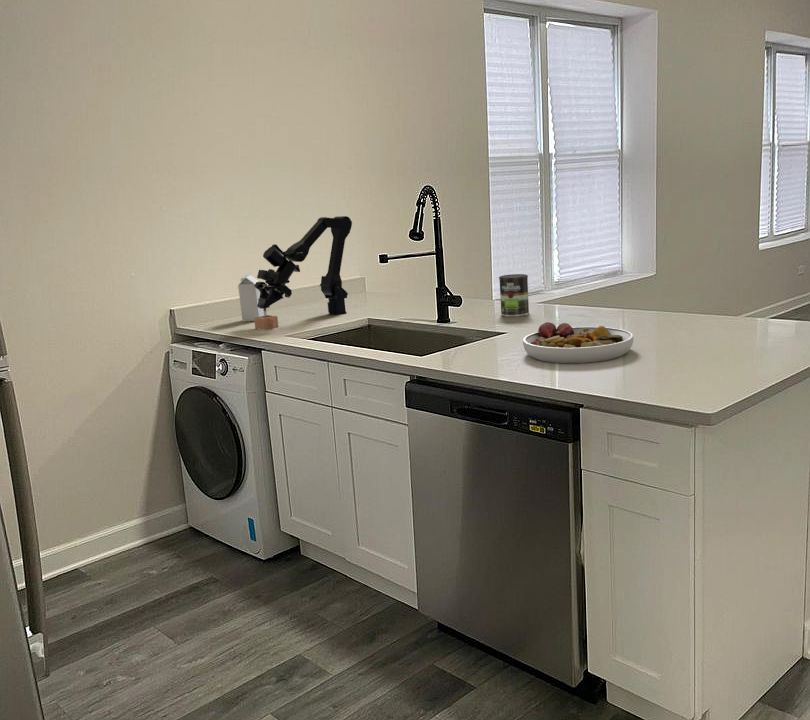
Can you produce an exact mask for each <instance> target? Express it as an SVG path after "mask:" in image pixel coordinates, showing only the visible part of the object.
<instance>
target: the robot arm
mask: <svg viewBox="0 0 810 720" xmlns="http://www.w3.org/2000/svg"><path fill="white" fill-rule="evenodd" d="M352 227H353V221H352V219H351V218H350V217H349V216H345V215H342V216H341V215H339V216H334V217H328V216H321V217H319V218H318V219H317V220H316V222H315V223H314V225H312V227H310V229H309V230H308V231H307V232H306V233H305V234H304V235H303V237H302V238H301V239H299V241H297V242H295V243H293V244H291V246H289V247H288V248H287V249H286V250H285V251H283V250H282V249H281V248H280V247H279V246H278V245H277V244H272V245H271V246H270V247H268V249H266V250H265V251H264V252H263V254H262V256H263V258H264V259H265V260H266V261H267V262H268V263H269V264H270V265H272V267H274V268H276V267H277V269H276V270H275V269H271V268H269V269H268V270H266V269H259V270H258V272H257V276H256V279H257V280H258V279H261V280H263V281H259V282H256V284H255V285H254V287H255V288H257V289H258V290H259V291H260V298H265V297H268V298H267V300H266V302H265V304H264V306H263V307H264V308H266V309H268V308H267V307H269V306H271V305H273V304H274V303H276V302H279V301H281V300H282V299H284V297H285V298H290V297H291V296H292V294H293V293H292V291H293V290H292V289H291V288H290V287H289V286H287V285H286V284H289V283H290V282H291V281H290V280H289V279H290V278H291V276H292V275H293V273H300V272H301V269H300V265H299V264H295V263H296V262H297V263H303V261H305V260H306V258H307V256H308V255H309V253H310V248H311V247H312V246H313V245H314V244H315V242H317V240H318V239H319V238H321V236H322V235H323V233H324V232H325V231H326V230H327V229H328V228H329V229H330V232H331V235H332V243H331V249H330V255H329V262H328V268H327V272H326V274H325V275H322V276H321V279H320V284H319V287H320V291H321V292H322V294H323V295H324V297H325V299H326V300H327V302H326V303H327V312H328V314H329V315H330V316H332V314H334V315H341V314H340V313H344V314H347V311H346V302H345V299H347V298H348V295H349V293H348V291H347V290H345V289H344V288H343V281H342V277H341V269H342V268H341V267H342V262H343V255H344V251H345V250H344V249H345V243H346V239H347V237H348V236H349V234H350V233H351V229H352ZM257 306H258V307H259V302H258V305H257ZM269 308H270V307H269Z"/></svg>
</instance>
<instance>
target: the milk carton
mask: <svg viewBox="0 0 810 720" xmlns="http://www.w3.org/2000/svg"><path fill="white" fill-rule="evenodd" d="M256 282H260V281H259V280H258V278H255V277H254V276H253V275H252V274H251V272H249V273H246V274H245V276H243V277H241V278H240V283H239V284H238V288H237V289H238V296H239V303H240V304H239V305H240V311H241V321H242V323H243V322H246V321H247V322H254V317H259V316H264V310H263V309H260V308H259V307H258V306H257V305H258V299H259V298H260V291H259V290H258V289H257V288H255V287H254V285H255V284H256Z"/></svg>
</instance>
